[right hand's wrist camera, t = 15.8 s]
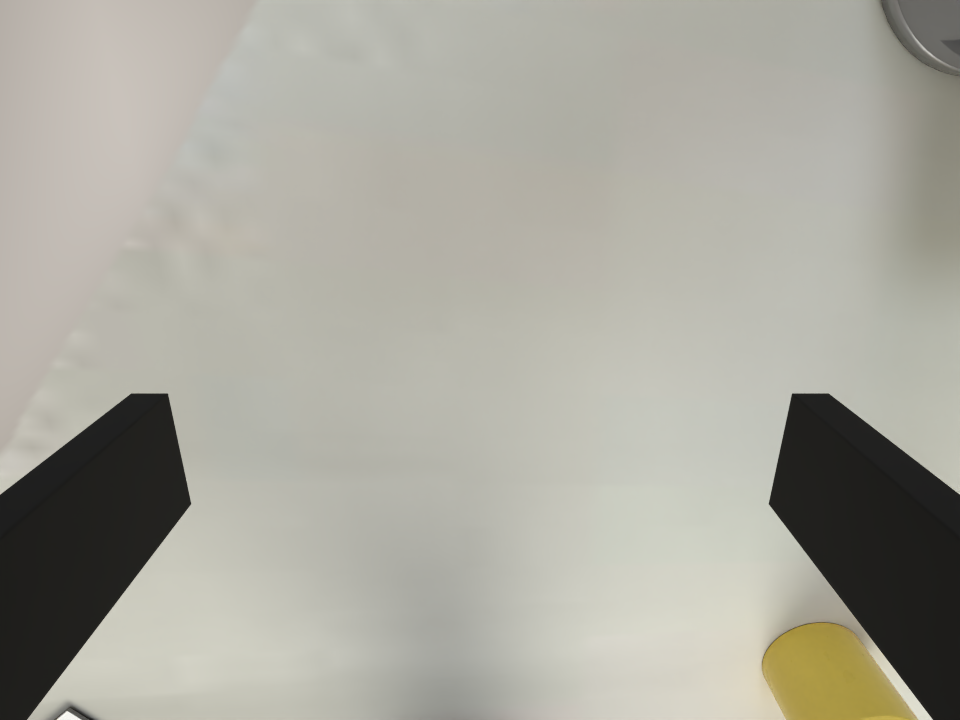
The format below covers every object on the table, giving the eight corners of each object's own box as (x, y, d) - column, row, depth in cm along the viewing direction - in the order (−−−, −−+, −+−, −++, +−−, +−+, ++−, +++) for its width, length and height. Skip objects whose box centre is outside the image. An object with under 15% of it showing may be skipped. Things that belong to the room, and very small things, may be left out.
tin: (846, 608, 52) (916, 700, 44) (873, 674, 55) (943, 772, 47) (748, 645, 54) (797, 740, 45) (779, 707, 57) (831, 808, 48)
